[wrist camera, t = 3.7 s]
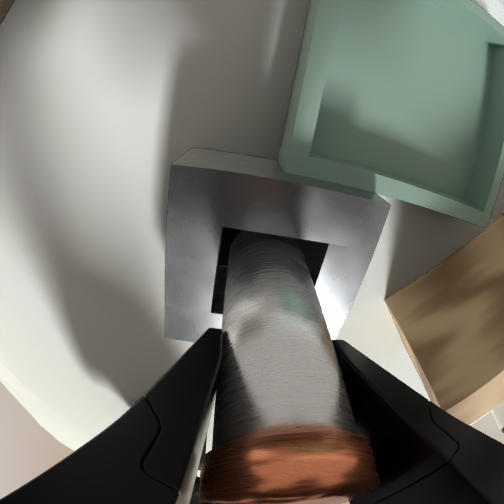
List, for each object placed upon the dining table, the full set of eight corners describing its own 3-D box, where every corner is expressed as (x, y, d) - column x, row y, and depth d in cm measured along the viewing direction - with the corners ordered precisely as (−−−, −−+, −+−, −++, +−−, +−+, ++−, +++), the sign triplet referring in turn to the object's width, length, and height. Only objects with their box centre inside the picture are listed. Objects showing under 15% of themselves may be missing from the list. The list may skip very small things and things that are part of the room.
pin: (219, 284, 13) (197, 512, 5) (230, 212, 12) (200, 483, 3) (294, 294, 14) (335, 508, 5) (315, 226, 12) (415, 464, 3)
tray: (277, 160, 13) (284, 172, 11) (319, -49, 7) (331, -71, 5) (461, 211, 14) (485, 228, 12) (495, 44, 8) (521, 43, 6)
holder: (180, 288, 16) (165, 337, 13) (192, 147, 13) (171, 164, 9) (313, 306, 17) (327, 354, 14) (355, 178, 13) (390, 204, 10)
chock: (403, 345, 20) (446, 438, 12) (383, 299, 17) (442, 412, 9) (510, 266, 16) (572, 332, 9) (507, 209, 14) (591, 274, 6)
